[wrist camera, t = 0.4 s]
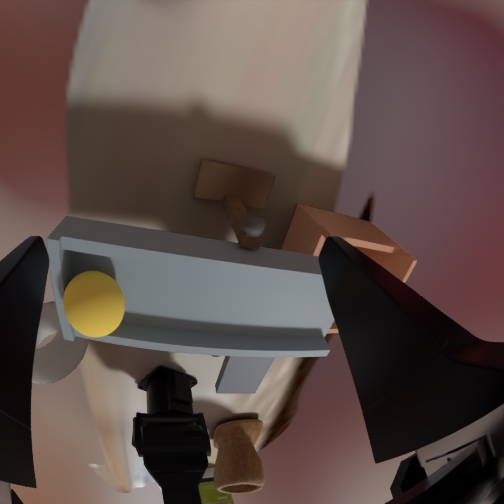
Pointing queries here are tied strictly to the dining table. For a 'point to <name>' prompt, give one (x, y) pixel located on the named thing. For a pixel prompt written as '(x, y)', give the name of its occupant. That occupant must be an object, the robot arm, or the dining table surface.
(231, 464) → the stone cup
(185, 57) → the dining table surface
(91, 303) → the ball
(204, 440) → the robot arm
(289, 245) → the brown boxy piece
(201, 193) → the lever stand
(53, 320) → the donut
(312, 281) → the grey flat piece
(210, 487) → the tea box
